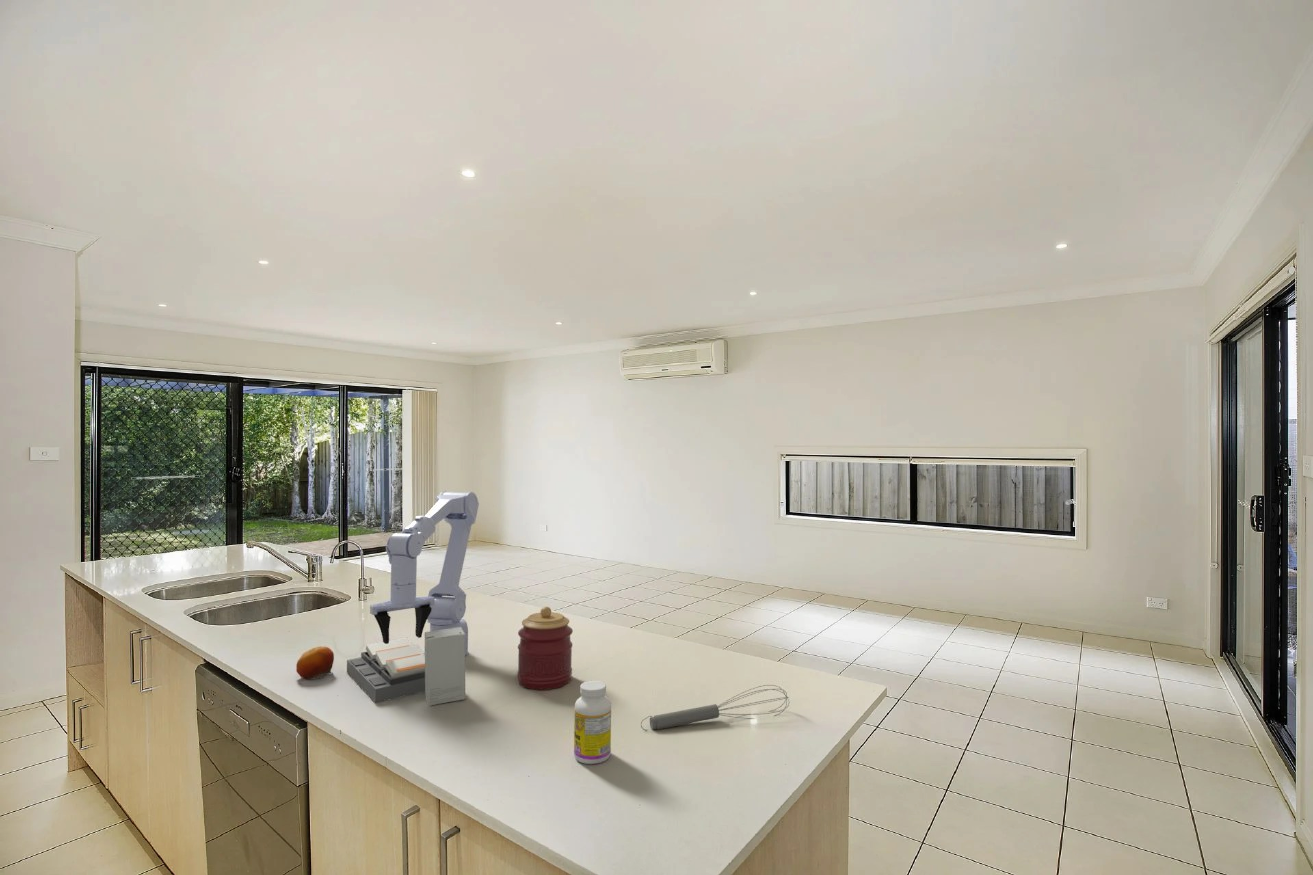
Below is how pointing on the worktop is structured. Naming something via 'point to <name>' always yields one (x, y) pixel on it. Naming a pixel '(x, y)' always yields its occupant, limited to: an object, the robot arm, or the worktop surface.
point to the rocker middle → (397, 654)
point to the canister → (544, 651)
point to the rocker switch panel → (382, 680)
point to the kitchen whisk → (703, 713)
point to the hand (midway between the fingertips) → (402, 639)
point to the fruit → (315, 663)
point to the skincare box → (444, 666)
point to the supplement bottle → (592, 724)
